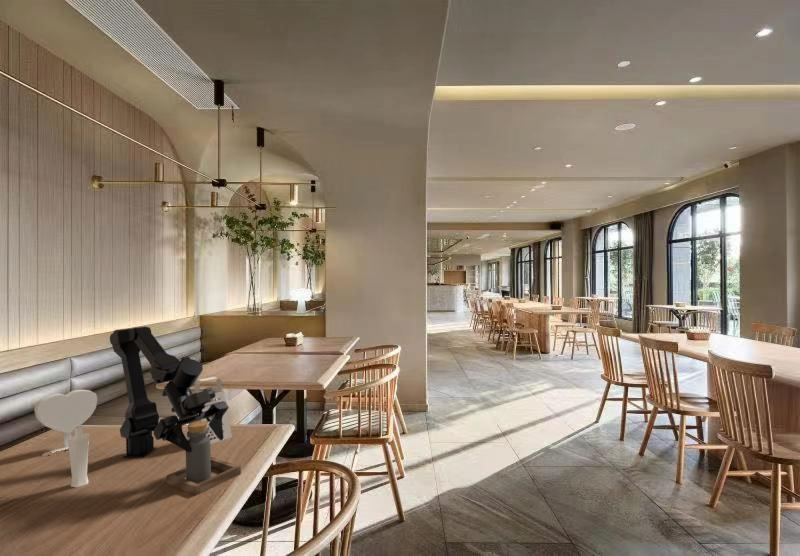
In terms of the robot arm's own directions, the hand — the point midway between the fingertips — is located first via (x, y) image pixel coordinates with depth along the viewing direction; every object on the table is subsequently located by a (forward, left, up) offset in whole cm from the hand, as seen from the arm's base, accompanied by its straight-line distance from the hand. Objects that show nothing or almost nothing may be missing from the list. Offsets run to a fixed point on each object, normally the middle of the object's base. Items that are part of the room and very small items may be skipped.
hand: (206, 445), depth 110 cm
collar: (-1, +1, -9) cm, 9 cm away
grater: (-14, +30, -9) cm, 34 cm away
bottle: (-2, -1, -9) cm, 9 cm away
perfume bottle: (-33, -1, -9) cm, 34 cm away
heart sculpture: (-57, +23, -9) cm, 62 cm away
